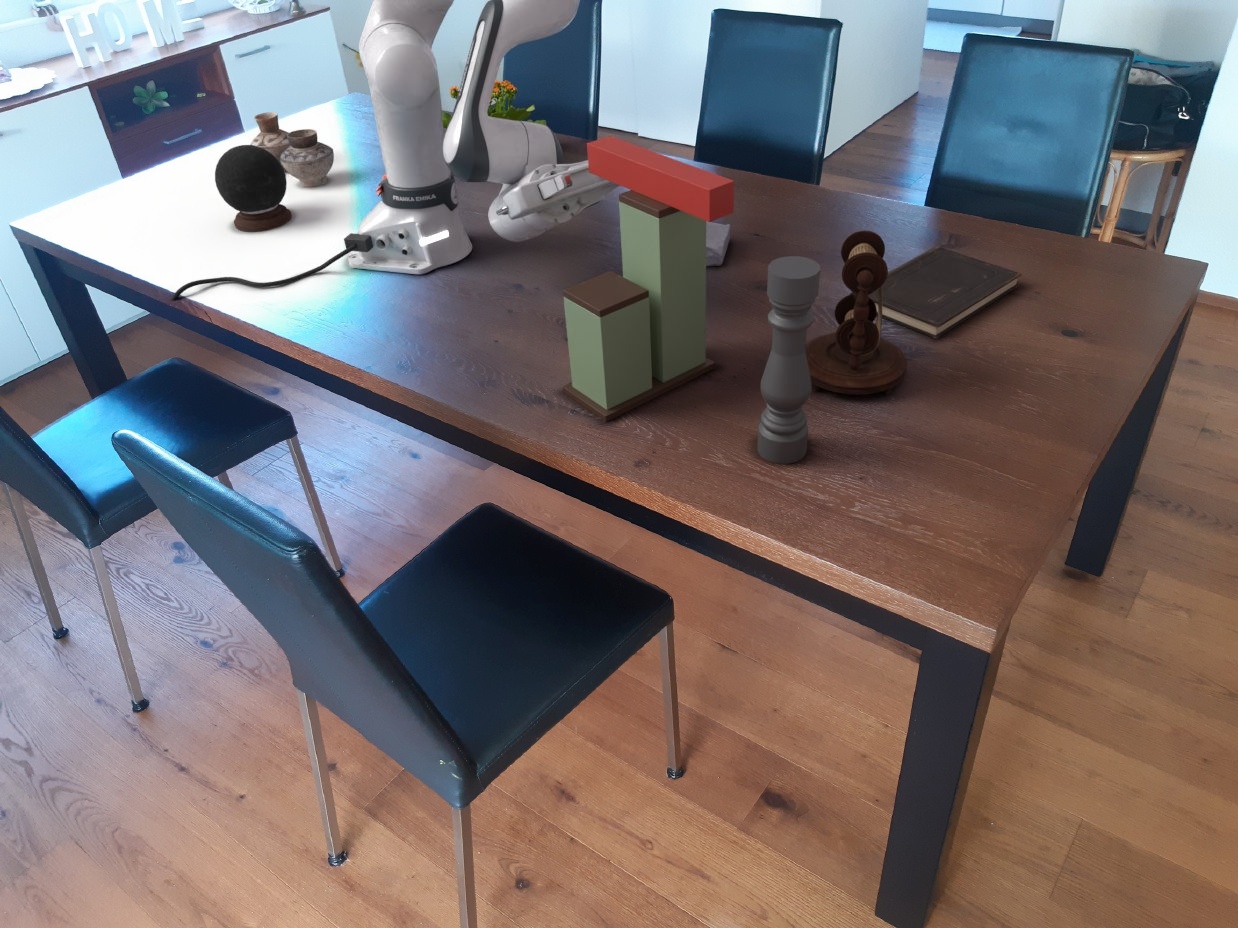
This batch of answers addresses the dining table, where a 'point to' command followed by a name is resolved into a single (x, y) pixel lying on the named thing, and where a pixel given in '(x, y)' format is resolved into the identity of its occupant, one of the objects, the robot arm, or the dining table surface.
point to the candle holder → (787, 359)
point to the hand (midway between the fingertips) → (594, 171)
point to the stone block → (716, 243)
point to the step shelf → (640, 312)
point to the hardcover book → (941, 290)
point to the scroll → (858, 328)
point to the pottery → (295, 150)
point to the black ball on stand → (253, 187)
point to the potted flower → (499, 104)
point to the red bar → (662, 178)
